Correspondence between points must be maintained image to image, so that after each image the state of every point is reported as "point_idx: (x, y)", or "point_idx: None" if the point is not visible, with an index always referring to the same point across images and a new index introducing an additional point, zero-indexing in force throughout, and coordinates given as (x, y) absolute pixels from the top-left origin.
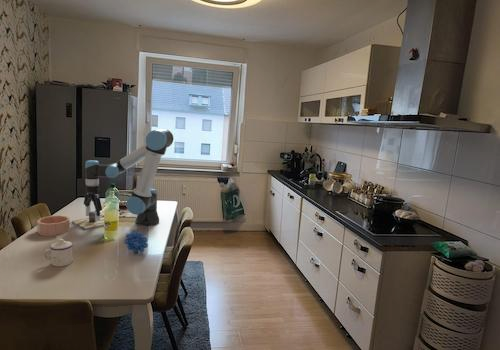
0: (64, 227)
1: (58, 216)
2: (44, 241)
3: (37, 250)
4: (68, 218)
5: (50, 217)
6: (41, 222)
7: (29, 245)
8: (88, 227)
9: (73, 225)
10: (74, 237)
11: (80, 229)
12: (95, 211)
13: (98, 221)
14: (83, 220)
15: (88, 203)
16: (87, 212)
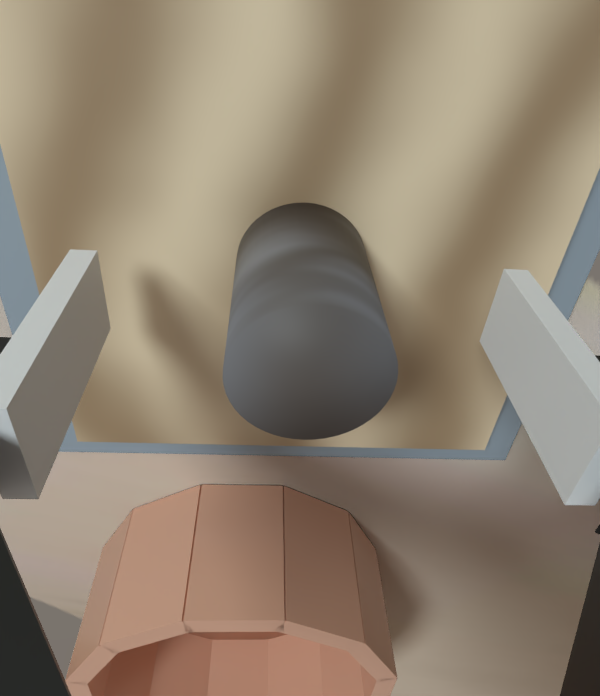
0: (380, 604)
1: (115, 651)
2: (418, 641)
3: (523, 679)
4: (296, 630)
5: (92, 680)
6: (144, 691)
7: (411, 683)
8: (496, 418)
9: (215, 447)
10: (535, 531)
11: (413, 452)
12: (577, 494)
13: (373, 194)
14: (148, 339)
15: (5, 543)
16: (82, 354)
